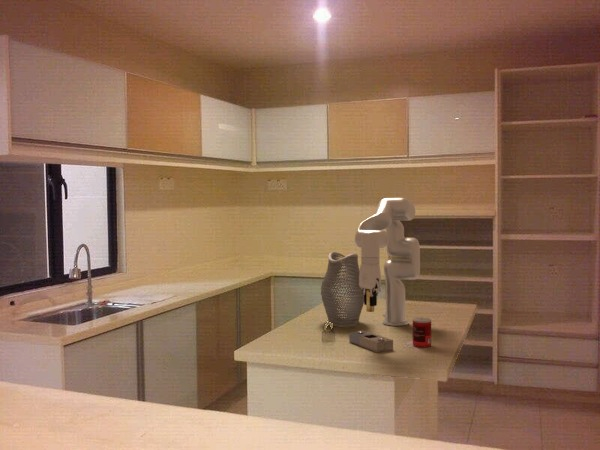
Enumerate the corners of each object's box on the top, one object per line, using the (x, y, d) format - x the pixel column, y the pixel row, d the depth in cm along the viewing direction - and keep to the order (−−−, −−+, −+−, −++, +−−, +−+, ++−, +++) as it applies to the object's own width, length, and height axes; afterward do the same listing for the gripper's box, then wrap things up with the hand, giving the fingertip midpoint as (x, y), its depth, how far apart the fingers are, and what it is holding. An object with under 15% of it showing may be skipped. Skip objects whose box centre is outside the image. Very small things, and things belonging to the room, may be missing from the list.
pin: (365, 310, 242) (364, 287, 242) (371, 310, 244) (371, 286, 243) (369, 312, 239) (369, 288, 239) (375, 311, 241) (375, 287, 240)
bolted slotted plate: (349, 342, 249) (349, 331, 249) (364, 339, 253) (364, 329, 253) (376, 352, 232) (376, 341, 231) (393, 350, 235) (393, 338, 235)
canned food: (428, 342, 247) (428, 317, 246) (433, 347, 239) (433, 321, 238) (410, 343, 246) (410, 317, 246) (415, 348, 238) (415, 321, 238)
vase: (313, 325, 282) (312, 254, 281) (332, 317, 302) (331, 250, 300) (355, 330, 272) (355, 255, 270) (372, 321, 291) (372, 251, 290)
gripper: (351, 260, 246) (351, 303, 247) (374, 263, 232) (374, 309, 232) (366, 259, 250) (366, 301, 250) (389, 262, 235) (389, 307, 236)
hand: (370, 304), depth 241 cm, fingers closed on pin, 3 cm apart
